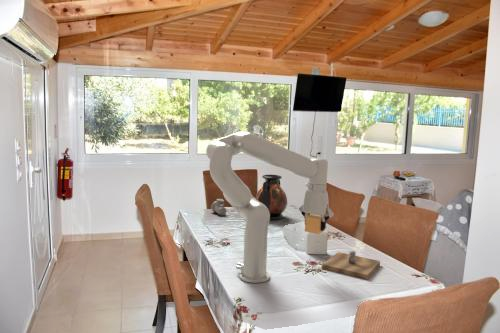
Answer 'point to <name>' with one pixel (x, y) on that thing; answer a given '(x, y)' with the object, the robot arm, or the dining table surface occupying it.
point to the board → (351, 265)
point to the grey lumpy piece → (218, 207)
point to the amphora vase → (272, 196)
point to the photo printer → (316, 243)
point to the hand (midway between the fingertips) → (314, 228)
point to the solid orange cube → (313, 224)
